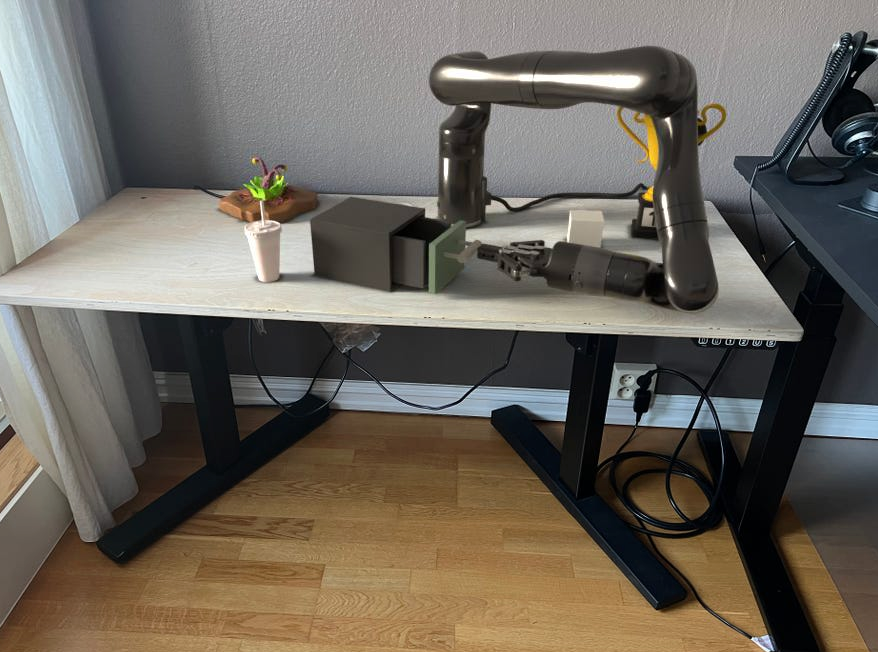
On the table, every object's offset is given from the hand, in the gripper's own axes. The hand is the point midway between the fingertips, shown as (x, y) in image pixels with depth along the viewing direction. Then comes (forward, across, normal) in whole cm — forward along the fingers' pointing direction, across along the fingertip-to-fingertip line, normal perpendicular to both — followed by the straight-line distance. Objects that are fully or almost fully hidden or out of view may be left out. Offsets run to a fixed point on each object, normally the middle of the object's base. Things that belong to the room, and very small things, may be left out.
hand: (478, 250), depth 119 cm
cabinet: (+21, 0, +7) cm, 22 cm away
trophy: (-21, -40, +8) cm, 46 cm away
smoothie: (+36, +11, +8) cm, 38 cm away
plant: (+59, -20, +8) cm, 63 cm away
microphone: (-23, -56, +8) cm, 61 cm away
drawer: (+10, 0, +6) cm, 12 cm away
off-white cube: (-11, -28, +8) cm, 31 cm away
